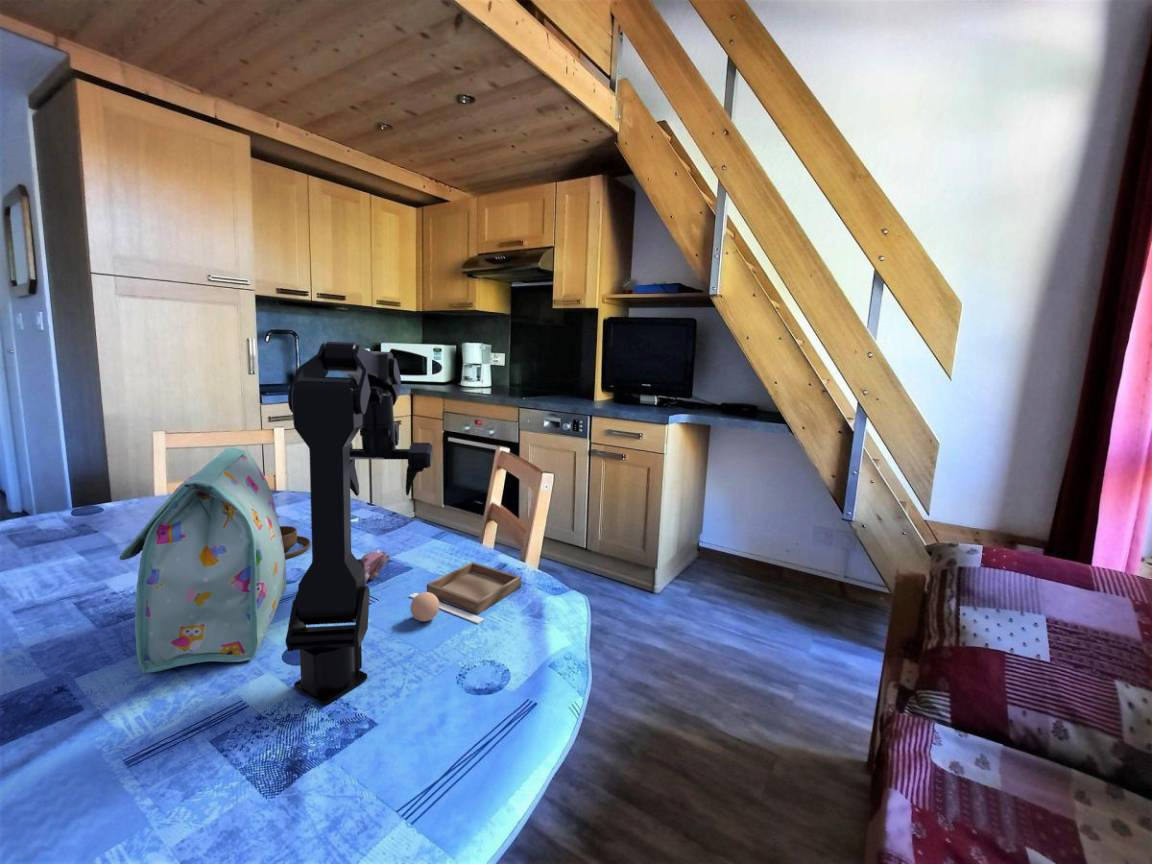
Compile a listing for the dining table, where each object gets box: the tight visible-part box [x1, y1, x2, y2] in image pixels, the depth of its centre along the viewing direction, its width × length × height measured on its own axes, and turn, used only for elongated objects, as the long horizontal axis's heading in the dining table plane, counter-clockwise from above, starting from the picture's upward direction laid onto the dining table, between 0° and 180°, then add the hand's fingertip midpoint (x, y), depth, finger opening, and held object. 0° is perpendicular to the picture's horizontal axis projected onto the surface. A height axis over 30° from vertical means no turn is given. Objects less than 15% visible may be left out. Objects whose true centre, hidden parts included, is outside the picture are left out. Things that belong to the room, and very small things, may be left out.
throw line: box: [408, 592, 485, 625], centre depth 86 cm, size 2×16×1 cm, turn 60°
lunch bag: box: [118, 446, 287, 673], centre depth 75 cm, size 23×16×27 cm
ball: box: [410, 591, 440, 622], centre depth 82 cm, size 4×4×4 cm
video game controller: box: [360, 549, 390, 584], centre depth 94 cm, size 10×5×7 cm, turn 168°
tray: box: [426, 561, 522, 615], centre depth 92 cm, size 12×12×2 cm
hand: (382, 494), depth 97 cm, fingers open, 9 cm apart
